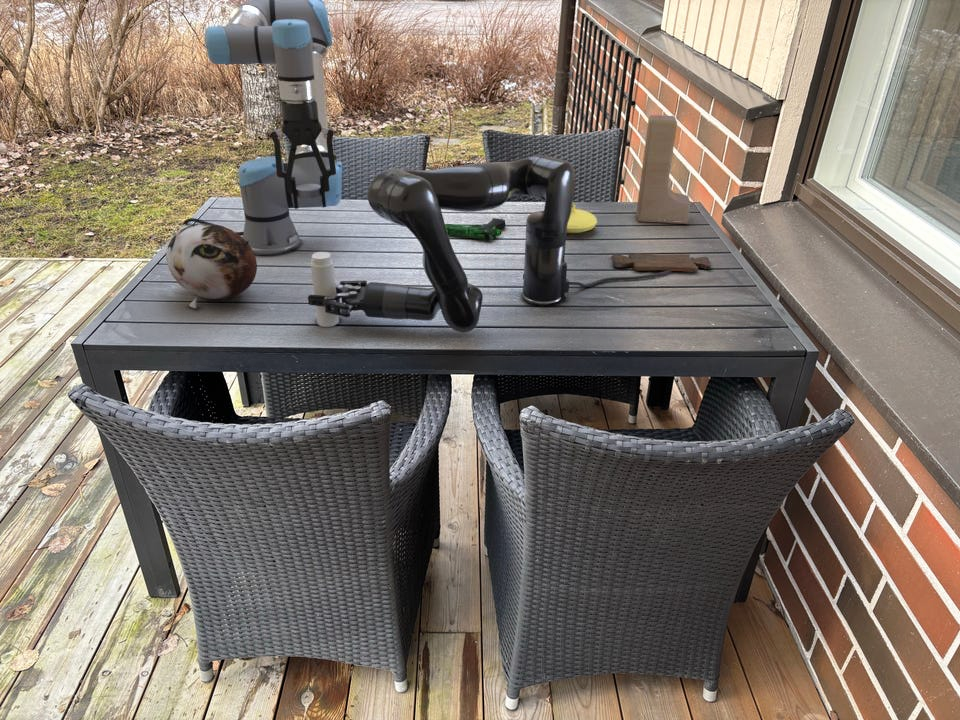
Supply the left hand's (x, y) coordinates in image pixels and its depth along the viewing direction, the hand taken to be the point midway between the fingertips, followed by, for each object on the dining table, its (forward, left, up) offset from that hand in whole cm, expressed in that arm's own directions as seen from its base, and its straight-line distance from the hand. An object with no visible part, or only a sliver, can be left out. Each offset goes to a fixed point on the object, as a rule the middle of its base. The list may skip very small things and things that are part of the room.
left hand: (310, 205), depth 164 cm
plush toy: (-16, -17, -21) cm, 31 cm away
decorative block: (+51, +95, -21) cm, 110 cm away
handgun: (+11, +53, -21) cm, 58 cm away
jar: (+14, -12, -21) cm, 28 cm away
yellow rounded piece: (+32, +71, -21) cm, 81 cm away
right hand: (+12, -13, -14) cm, 23 cm away
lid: (0, 0, +4) cm, 4 cm away
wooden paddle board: (+64, +61, -21) cm, 91 cm away
